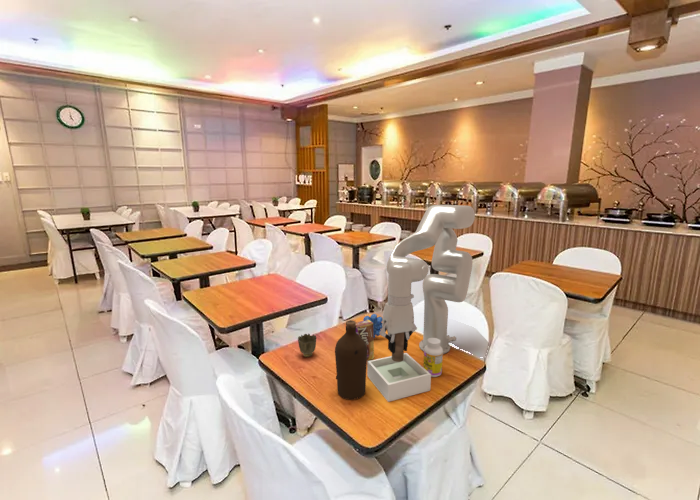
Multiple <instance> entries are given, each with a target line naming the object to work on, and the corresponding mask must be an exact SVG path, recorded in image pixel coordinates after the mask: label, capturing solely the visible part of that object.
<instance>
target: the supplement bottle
mask: <svg viewBox="0 0 700 500" xmlns="http://www.w3.org/2000/svg"><path fill="white" fill-rule="evenodd" d="M427 344H428V345H426V346H425V348H424V351H423V365H422V367H423V368H424V369H425V370H427V371H428V372H429V373H430V374H431V378H437V377H439V376H441V375H442V371H443V355H444V354H443V349H442V347H441V346H440V340H439V339H437V338H429V339H427Z"/></svg>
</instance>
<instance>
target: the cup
mask: <svg viewBox="0 0 700 500" xmlns="http://www.w3.org/2000/svg"><path fill="white" fill-rule="evenodd" d="M297 342H298V347H299V351H300V352H301V354H303V357H304V358H311V357H312V356H313V353H314V351H315V350H316V346H317V335H315V334H314V333H313V334H310V333H304V334H303V335H302V334H301V335H300V336H298V337H297Z"/></svg>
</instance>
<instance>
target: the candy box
mask: <svg viewBox="0 0 700 500" xmlns="http://www.w3.org/2000/svg"><path fill="white" fill-rule="evenodd" d="M355 322H356V321H355ZM356 333H357V334H358V335H359V336H360V337H361V338H362V339H363V340H364V341H365V343H366V346H367V361H371V360H375V350H374V349H375V343H374V342H375V341H374V340H375V338H374V334H373V322H371V321H370V320H365V321H363V320H362V321H357V322H356Z"/></svg>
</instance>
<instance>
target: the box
mask: <svg viewBox="0 0 700 500" xmlns="http://www.w3.org/2000/svg"><path fill="white" fill-rule="evenodd" d="M366 377H367V378H368V379H369V380H370V381H371V382H372V384H373V385H374V386H375V387H376V389H377V390H378V391H379V392H380V394H381V395H382V397H384V399H385V400H386V401H387V403H389V402H393V401H396V400H400V399H404V398H408V397H411V396H414V395H418V394H422V393H427V392H429V391H430V392H431V384H432V377H431V374H430V373H429V372H428V371H427V370H425V369H424V368H423V365H421V364H420V363H419V362H418V361H416V359H415V358H413V357H412V356H411V355H409V353H407V352H404V358H403V361H401V362H396V361H393V360H392V355H390V356H385V357H382V358H381V357H379V358H376V359H375V358H374V359H371V360H368V361H367V365H366Z"/></svg>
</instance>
